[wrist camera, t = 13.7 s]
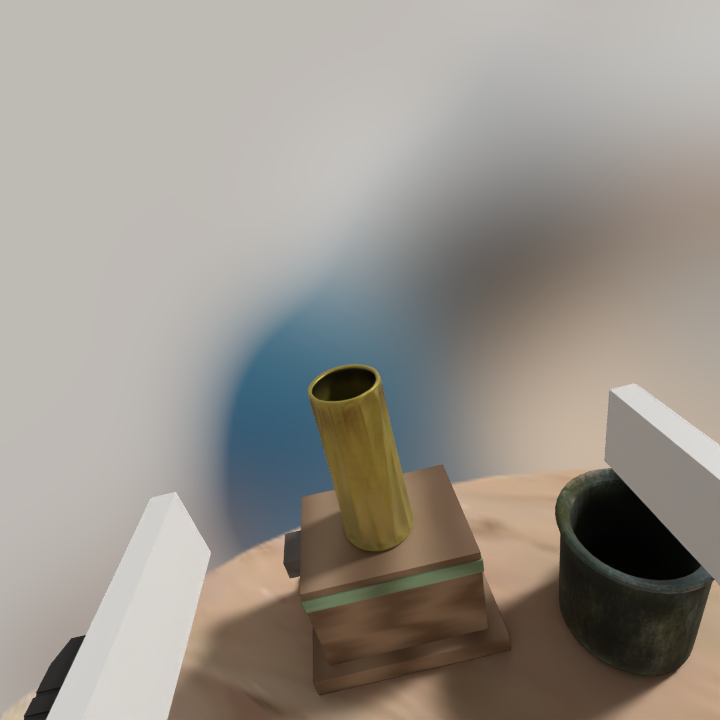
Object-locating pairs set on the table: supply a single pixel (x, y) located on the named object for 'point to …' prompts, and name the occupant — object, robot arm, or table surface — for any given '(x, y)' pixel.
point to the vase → (362, 456)
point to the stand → (393, 590)
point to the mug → (626, 577)
